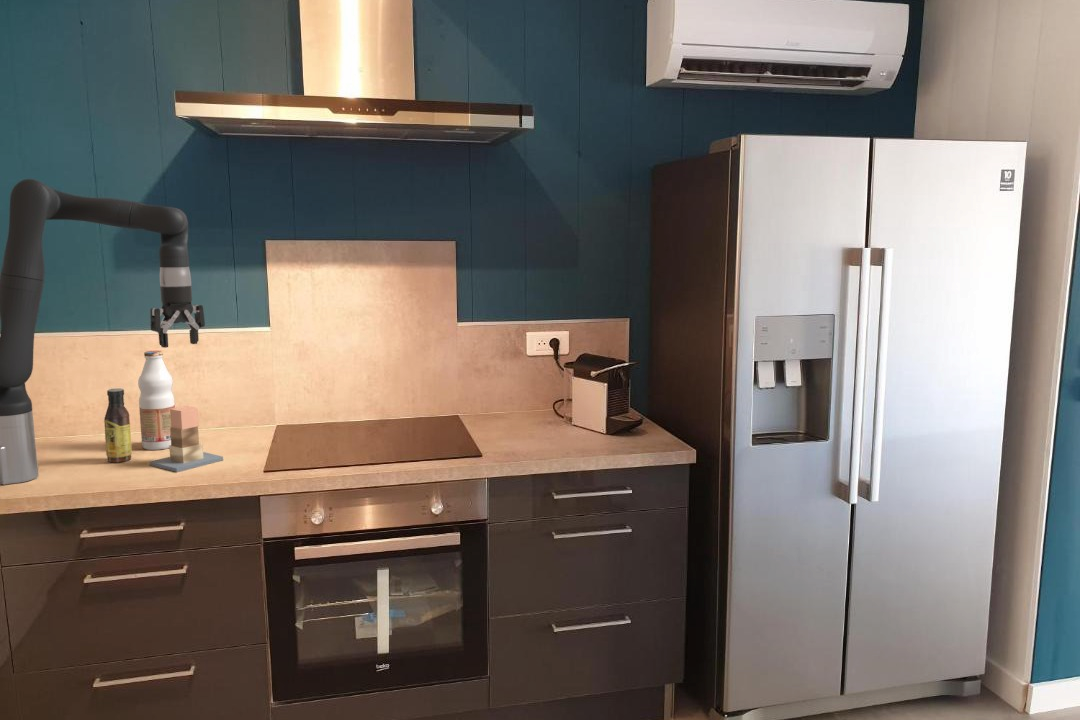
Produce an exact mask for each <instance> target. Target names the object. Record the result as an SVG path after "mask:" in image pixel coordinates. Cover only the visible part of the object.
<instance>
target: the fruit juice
mask: <svg viewBox="0 0 1080 720" xmlns="http://www.w3.org/2000/svg"><path fill="white" fill-rule="evenodd" d="M143 356H144V358H145V361H144V364H143V367H142V370H141V371H142V372H141V373H140V375H139V377H138V380H137V381H138V382H137V385H138V389H139V392H140V395H139V397H138V409H139V410H138V411H139V421H140V436H141V446H142V448H143V449H144V450H147V451H148V450H150V451H158V450H167V449H169V445H171V434H170V427H171V419H170V409H173V408H176V403H175V402H176V401H175V395H174V393H173V391H172V390H173V385H174V381H173V377H172V375H171V373H170V372H169V371H168V369H167V366H166V365H165V362H164V360H163V357H164V351H163V350H146V351H144V353H143Z"/></svg>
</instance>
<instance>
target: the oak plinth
mask: <svg viewBox="0 0 1080 720" xmlns="http://www.w3.org/2000/svg"><path fill="white" fill-rule="evenodd" d="M168 449H169V457H170V460H173V461H177V462H181V463H187V462H190V461H194V460H198V459H202V458H203V452H204V446H203V443H200V442H199V444H198V445H194V446H190V447H185V448H179V447H175V446H171V445H169V448H168Z"/></svg>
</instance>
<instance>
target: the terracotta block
mask: <svg viewBox="0 0 1080 720" xmlns="http://www.w3.org/2000/svg"><path fill="white" fill-rule="evenodd" d="M170 419H171V427H172V428H177V429H181V430H183V429H188V428H192V427H197V426H198V427H199V426H200V424H199V423H200V422H199V421H200V420H199V409H198V407H194V406H189V405H183V406H179V407H178V406H177V407H175V408H173V409H170Z"/></svg>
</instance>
